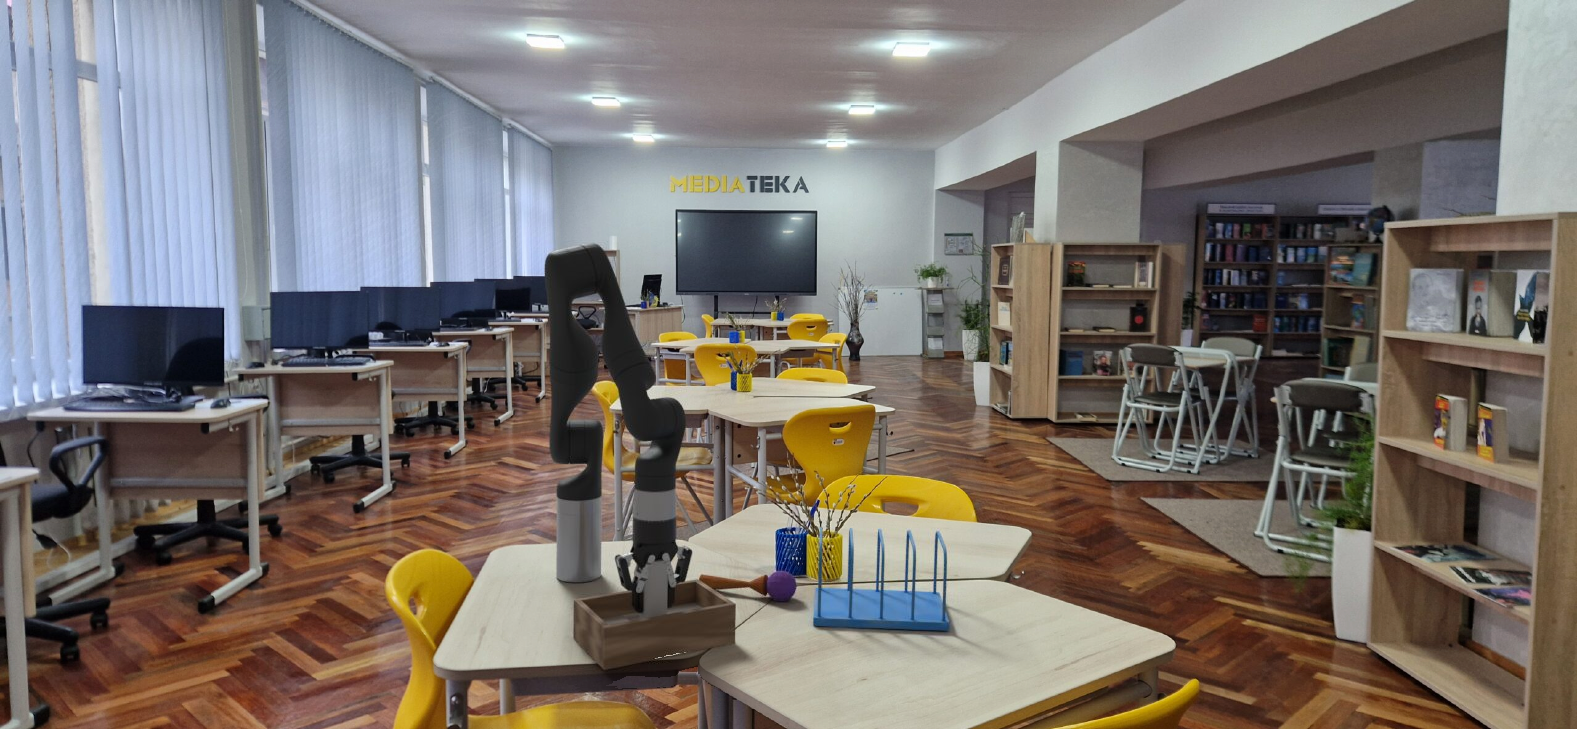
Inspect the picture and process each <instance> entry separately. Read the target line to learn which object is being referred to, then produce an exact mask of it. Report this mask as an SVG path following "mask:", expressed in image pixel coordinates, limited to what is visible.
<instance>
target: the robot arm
mask: <svg viewBox="0 0 1577 729" xmlns="http://www.w3.org/2000/svg"><path fill="white" fill-rule="evenodd" d="M544 281H545V283H544V284H545V292H546V299H547V309H548V310H547V311H548V319H549V354H548V355H549V357H548V358H549V381H550V398H551V400H550V402H551V404H550V405H551V406H550V426H549V443H548V444H549V453H550V456H551V460H552V461H553V462H554V463H556V464H558V465H586V467H585V468H584V469H583V470H582V471H581V472H578V473H577V474H575V475H573V476H570V477H568V478H564V479H562V480H561V481H559V482H558V483H557V485H556V558H555V559H556V566H555V568H556V571H555V573H556V578H557V580H559V581H562V582H565V583H585V582H592V581H595V580H598V579H599V578H600V577H601V576H602V526H603V525H602V521H603V519H602V516H603V514H602V510H603V509H602V506H603V504H602V502H603V501H602V499H603V498H602V496H603V493H602V492H603V490H602V488H603V487H602V483H603V482H602V476H603V475H602V472H603V471H602V470H603V469H602V468H603V457H604V456H603V455H604V454H603V453H604V430H603V428H604V427H603V424H602V423H601V421H599V420H597V419H570V416H571V414H572V413H573V411H574V410H575V408H576V407H578V405H579V404H580V403H581V401H583V399H585V397H586V396H587V395H588V394H589V393H590V391H591V390H592V389H593V387H594V386H595V384H596V382H597V380H598V377H599V348H598V345H597V343H596V342H595V339H594V338H593V337H592V336H591V334H590V333H589V332H588V331H587V330H586V329H585V328H584V327H583V326H582V325H581V324H580V323H579V322H578V320H577V319H576V317H575V315H574V314H573V308H572V306H573V305H572V304H573V301H574V300H576V299H577V300H578V299H581V298H585V297H587V296H588V297H589V296H593V295H597V294H598V295H599V297H600V299H601V302H602V304H603V308H604V322H603V330H602V336H601V343H600V344H601V346H600V347H601V355H602V359H603V362H604V365H605V366H606V368H607V370H608V372H609V374H610V376H611V378H612V380H613V382H614V384H615V386H616V388H617V392H618V397H619V402H620V407H621V408H620V409H621V413H622V418H623V422H624V425H625V427H626V429H627V432H628V433H629V434H630V435H631V436H632V437H633V438H634V439H636V440H637V441H640V442H646V443H647V442H651V443H650V445H649V448H648V449H647V450H646V451H644V452H643V453H641V454H639V455H638V456H637V457H636V459H635V463H634V491H633V497H632V508H631V512H632V546H631V549H630V552H628V553H625V554H622V555H621V554H616V555H615V557H614V562H615V566H616V569H617V573H618V577H619V581H620V585H621V586H622V587H623V588H624V589H625V591H632V607H633V609H635V611H636V612H637V613H643V592H642V590H643V587H644V584H645V581H646V580H647V579H648V569H647V568H648V566H649V565H651V564H652V562H654V561H656V560H663V561H664V560H665V562H664V563H667V565H668V566H667V576H668V593H667V608H672V604H674V602H675V586H676V585H677V584H678V583H680V582H685V581H687V577H688V576H687V575H688V572H689V568H690V564H691V560H692V556H693V550H692V549H691V548H690V547H688V546H686V545H682V546H680V545H679V546H678V544H677V525H678V524H677V520H678V519H677V516H678V515H677V512H678V510H677V507H678V506H677V505H678V501H677V499H678V498H677V489H676V488H677V486H676V484H677V481H676V480H677V474H676V473H677V462H678V459H679V455H680V452H681V448H682V444H683V440H684V436H685V433H686V426H687V418H686V413H685V410H684V409H685V408H684V407H683V405H682V404H681V403H680V401H679V400H678V399H676V398H673V397H670V396H668V397H667V396H666V397H658V398H657V397H656V398H650V397H649V394H648V390H650V389H651V388H652V387H653V386H654V385H655V383H656V381H657V374H656V372H655V370H654V368H653V365H652V364H651V362H650V359H649V357H648V355H647V353H646V352H645V350H644V348H643V346H642V344H641V343H640V341H639V338H638V336H637V333H636V331H635V330H634V326H633V323H632V321H631V317H630V315H629V312H628V308H627V305H626V302H625V299H624V296H623V294H622V290H621V288H620V284H619V282H618V280H617V277H616V273H615V271H614V268H613V265H612V264H611V261H610V259H609V257H608V255H607V253H606V252H605V250H604V248H602V247H601V245H599V244H598V243H595V242H589V243H583V244H578V245H573V246H569V247H564V248H560V249H557V250H553V251H551V252H549V253H548V254H547V255H546V257H545V261H544ZM675 556H676V558H677V560H676V566H675V568H673V565H672V562H673V560H674V558H675ZM632 560H633V561H634V562H635V564H636V565H635V568H634V571H633V577H631V573H630V568H629V567H631V564H632V563H631V562H632ZM640 569H642V573H640ZM674 569H675V570H674Z"/></svg>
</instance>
